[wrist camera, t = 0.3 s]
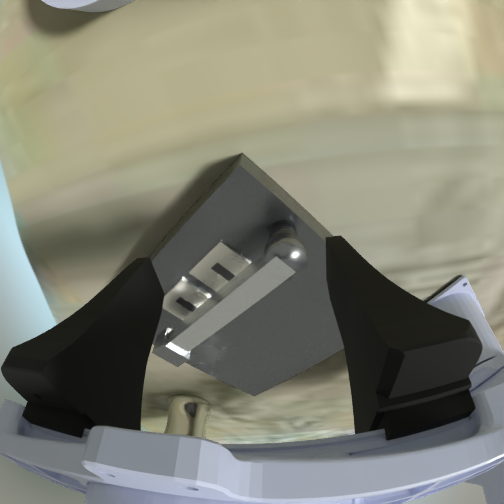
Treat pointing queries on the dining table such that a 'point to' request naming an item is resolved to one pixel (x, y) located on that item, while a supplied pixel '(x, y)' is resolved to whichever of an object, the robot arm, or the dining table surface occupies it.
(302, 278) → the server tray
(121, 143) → the dining table surface
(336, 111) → the dining table surface
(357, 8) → the dining table surface
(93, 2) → the wedge on round base
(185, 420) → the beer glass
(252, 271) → the grey ball-ended handle
